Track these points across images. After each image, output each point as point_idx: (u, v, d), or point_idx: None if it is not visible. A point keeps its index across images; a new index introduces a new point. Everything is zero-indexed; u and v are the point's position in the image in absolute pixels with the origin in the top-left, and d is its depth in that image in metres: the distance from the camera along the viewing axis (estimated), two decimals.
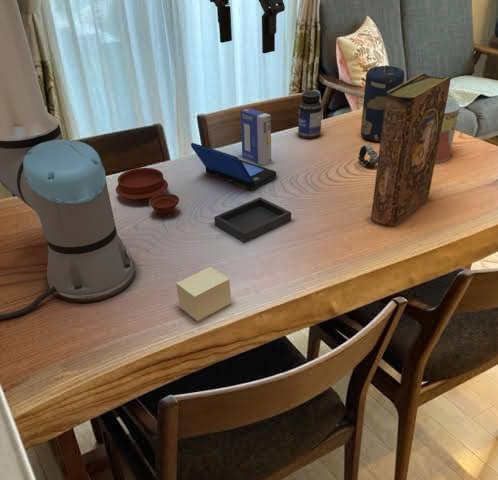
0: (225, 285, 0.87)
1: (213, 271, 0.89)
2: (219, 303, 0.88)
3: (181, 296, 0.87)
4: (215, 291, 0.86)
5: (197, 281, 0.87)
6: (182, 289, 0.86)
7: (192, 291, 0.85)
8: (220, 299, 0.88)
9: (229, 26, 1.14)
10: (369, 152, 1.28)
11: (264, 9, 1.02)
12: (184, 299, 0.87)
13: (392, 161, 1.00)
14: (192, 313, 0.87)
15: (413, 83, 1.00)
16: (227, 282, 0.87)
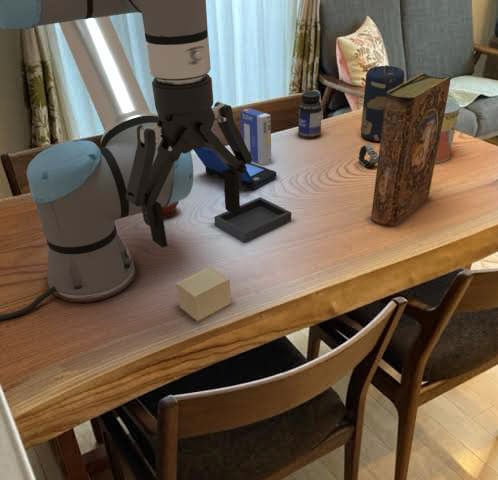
0: (225, 285, 0.87)
1: (213, 271, 0.89)
2: (219, 303, 0.88)
3: (181, 296, 0.87)
4: (215, 291, 0.86)
5: (197, 281, 0.87)
6: (182, 289, 0.86)
7: (192, 291, 0.85)
8: (220, 299, 0.88)
9: (233, 197, 0.81)
10: (369, 152, 1.28)
11: None
12: (184, 299, 0.87)
13: (392, 161, 1.00)
14: (192, 313, 0.87)
15: (413, 83, 1.00)
16: (227, 282, 0.87)
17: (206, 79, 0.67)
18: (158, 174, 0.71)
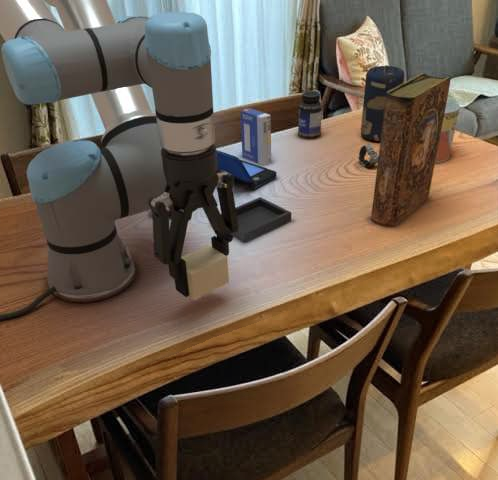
0: (223, 263, 0.85)
1: (210, 249, 0.86)
2: (216, 282, 0.86)
3: None
4: (213, 269, 0.84)
5: (194, 259, 0.84)
6: None
7: (188, 268, 0.82)
8: (217, 277, 0.85)
9: None
10: (369, 152, 1.28)
11: None
12: None
13: (392, 161, 1.00)
14: None
15: (413, 83, 1.00)
16: (225, 260, 0.85)
17: (210, 149, 0.72)
18: (177, 236, 0.78)
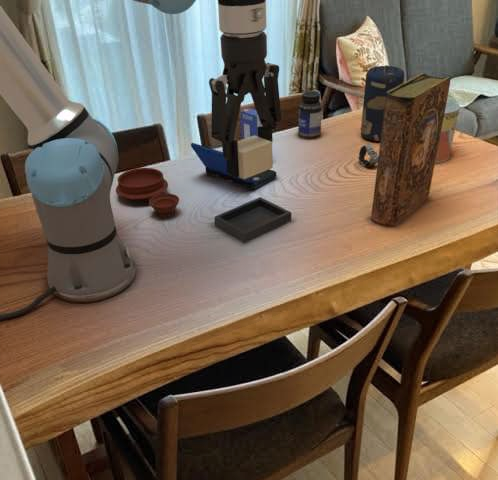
0: (268, 147, 0.98)
1: (257, 137, 1.00)
2: (262, 165, 0.99)
3: None
4: (260, 152, 0.97)
5: (244, 144, 0.98)
6: None
7: (240, 149, 0.96)
8: (263, 161, 0.99)
9: None
10: (369, 152, 1.28)
11: None
12: None
13: (392, 161, 1.00)
14: (239, 173, 0.98)
15: (413, 83, 1.00)
16: (270, 145, 0.98)
17: (262, 34, 0.86)
18: (231, 116, 0.92)
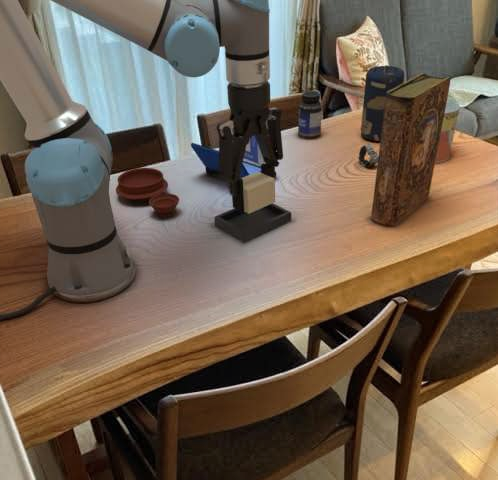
0: (271, 184, 1.05)
1: (260, 174, 1.07)
2: (266, 200, 1.06)
3: None
4: (263, 188, 1.04)
5: (248, 180, 1.05)
6: None
7: (245, 186, 1.03)
8: (267, 196, 1.06)
9: None
10: (369, 152, 1.28)
11: None
12: None
13: (392, 161, 1.00)
14: (244, 208, 1.05)
15: (413, 83, 1.00)
16: (273, 181, 1.05)
17: (266, 84, 0.93)
18: (237, 157, 0.99)
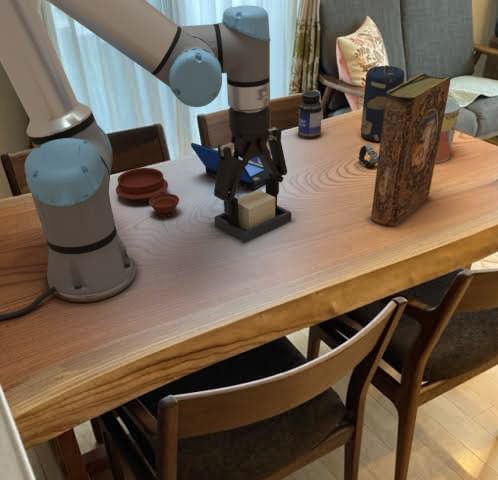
0: (272, 202, 1.08)
1: (261, 192, 1.09)
2: (266, 218, 1.09)
3: None
4: (264, 207, 1.07)
5: (249, 199, 1.07)
6: None
7: (246, 205, 1.05)
8: (267, 214, 1.08)
9: None
10: (369, 152, 1.28)
11: None
12: None
13: (392, 161, 1.00)
14: (245, 225, 1.08)
15: (413, 83, 1.00)
16: (273, 200, 1.08)
17: (266, 109, 0.96)
18: (234, 177, 1.01)
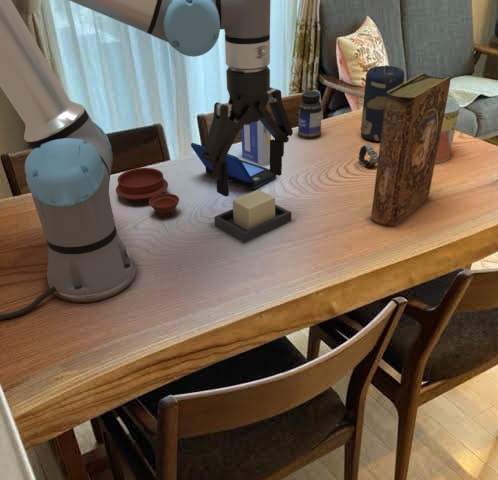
0: (272, 202, 1.08)
1: (261, 192, 1.09)
2: (266, 218, 1.09)
3: (236, 211, 1.08)
4: (264, 207, 1.07)
5: (249, 199, 1.07)
6: (237, 205, 1.06)
7: (246, 205, 1.05)
8: (267, 214, 1.08)
9: (277, 161, 1.06)
10: (369, 152, 1.28)
11: None
12: (238, 214, 1.08)
13: (392, 161, 1.00)
14: (245, 225, 1.08)
15: (413, 83, 1.00)
16: (273, 200, 1.08)
17: (266, 69, 0.91)
18: (227, 139, 0.95)
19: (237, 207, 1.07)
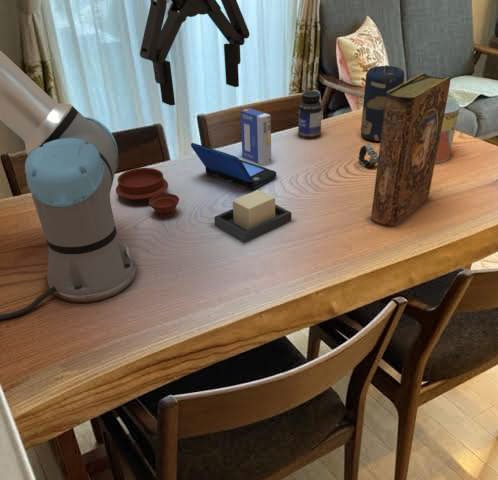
0: (272, 202, 1.08)
1: (261, 192, 1.09)
2: (266, 218, 1.09)
3: (236, 211, 1.08)
4: (264, 207, 1.07)
5: (249, 199, 1.07)
6: (237, 205, 1.06)
7: (246, 205, 1.05)
8: (267, 214, 1.08)
9: (233, 69, 0.93)
10: (369, 152, 1.28)
11: None
12: (238, 214, 1.08)
13: (392, 161, 1.00)
14: (245, 225, 1.08)
15: (413, 83, 1.00)
16: (273, 200, 1.08)
17: None
18: (168, 33, 0.82)
19: (237, 207, 1.07)
